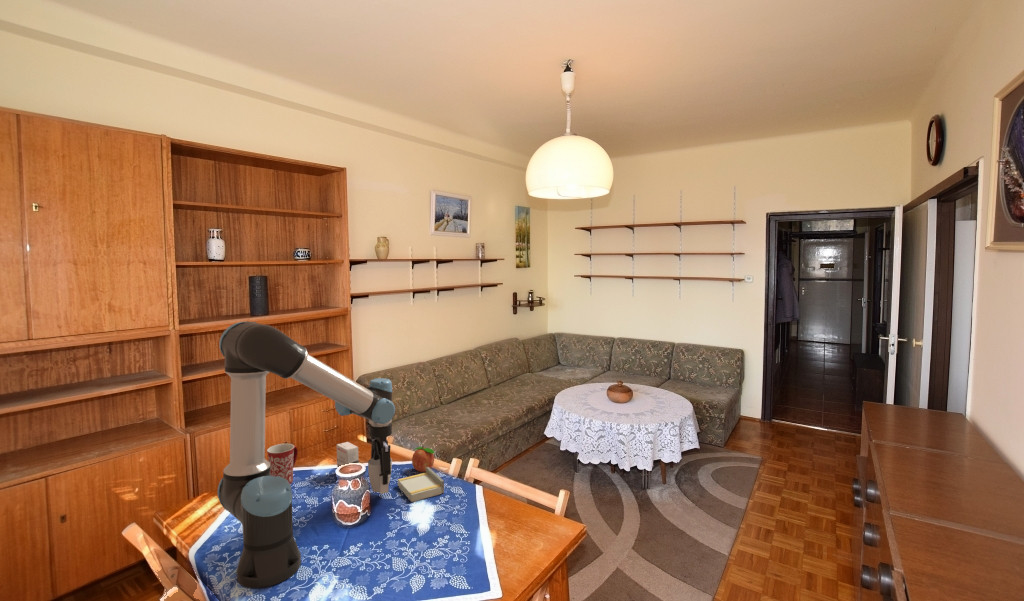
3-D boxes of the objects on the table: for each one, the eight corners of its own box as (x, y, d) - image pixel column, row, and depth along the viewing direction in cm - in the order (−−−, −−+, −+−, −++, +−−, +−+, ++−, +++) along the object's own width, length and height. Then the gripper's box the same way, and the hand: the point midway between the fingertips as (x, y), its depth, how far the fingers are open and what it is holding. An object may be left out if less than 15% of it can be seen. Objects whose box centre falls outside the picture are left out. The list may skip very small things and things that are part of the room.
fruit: (424, 477, 184) (424, 451, 184) (406, 471, 190) (405, 446, 189) (439, 469, 192) (439, 444, 191) (421, 463, 197) (421, 439, 196)
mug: (283, 490, 173) (281, 453, 172) (262, 487, 176) (261, 451, 175) (307, 475, 185) (306, 441, 184) (287, 472, 188) (286, 438, 187)
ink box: (359, 476, 185) (359, 446, 184) (347, 480, 181) (347, 450, 180) (348, 470, 191) (347, 440, 190) (336, 474, 187) (335, 444, 186)
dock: (444, 493, 171) (443, 480, 171) (411, 502, 165) (411, 489, 165) (428, 478, 183) (428, 466, 183) (397, 486, 177) (397, 474, 176)
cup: (396, 487, 170) (397, 460, 170) (379, 496, 163) (379, 467, 163) (380, 482, 174) (380, 454, 174) (362, 490, 168) (362, 462, 167)
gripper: (401, 430, 161) (400, 497, 162) (382, 414, 178) (382, 475, 180) (378, 433, 157) (378, 502, 158) (361, 417, 174) (361, 479, 176)
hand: (380, 488), depth 169 cm, fingers closed on cup, 8 cm apart
